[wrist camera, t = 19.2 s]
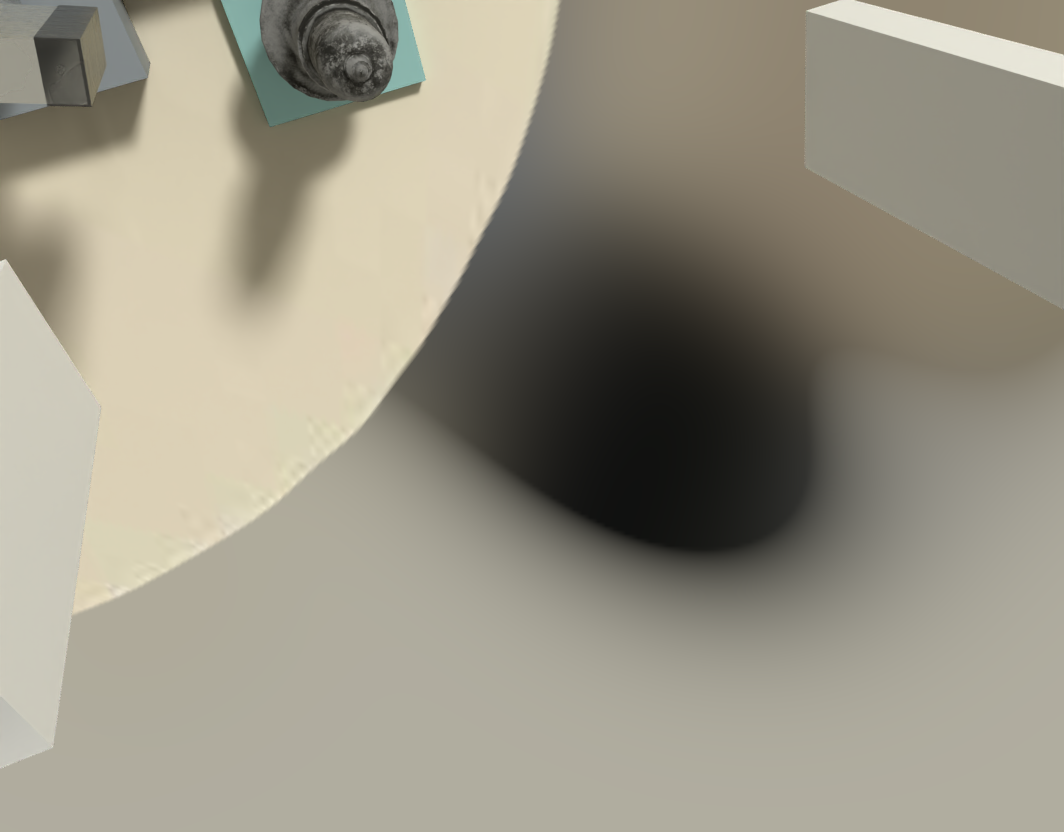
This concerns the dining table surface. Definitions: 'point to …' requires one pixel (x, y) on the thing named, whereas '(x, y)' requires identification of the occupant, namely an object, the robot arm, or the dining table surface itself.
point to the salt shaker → (331, 45)
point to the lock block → (119, 48)
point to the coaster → (279, 94)
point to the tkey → (50, 54)
